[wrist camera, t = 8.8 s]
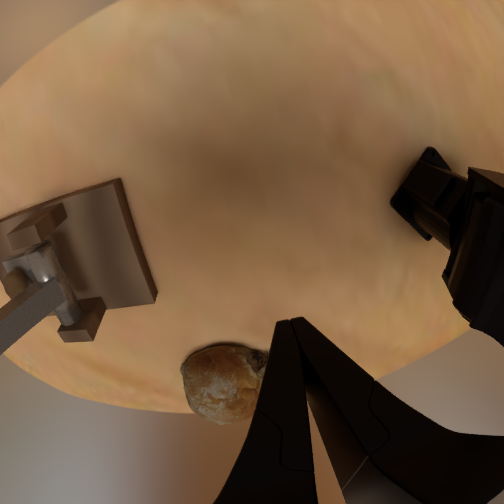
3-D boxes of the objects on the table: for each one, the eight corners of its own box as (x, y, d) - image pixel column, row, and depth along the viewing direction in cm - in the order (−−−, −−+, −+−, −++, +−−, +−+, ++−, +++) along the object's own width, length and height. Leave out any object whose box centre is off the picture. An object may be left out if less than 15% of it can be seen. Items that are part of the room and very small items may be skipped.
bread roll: (191, 318, 30) (151, 373, 23) (285, 338, 26) (258, 407, 20) (207, 373, 35) (179, 421, 28) (284, 392, 31) (263, 448, 25)
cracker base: (120, 177, 18) (89, 204, 13) (157, 292, 23) (146, 338, 18) (-13, 225, 18) (-46, 253, 13) (28, 309, 23) (6, 344, 18)
